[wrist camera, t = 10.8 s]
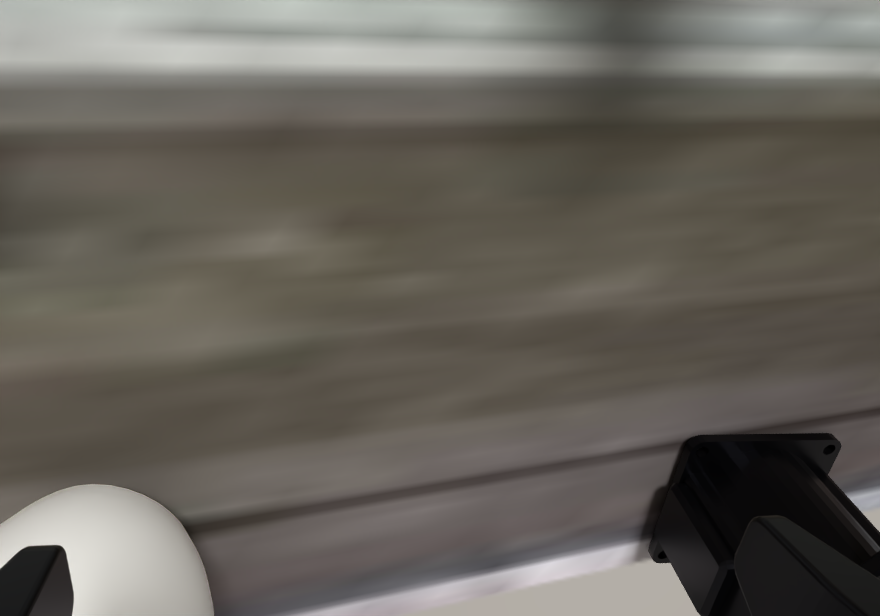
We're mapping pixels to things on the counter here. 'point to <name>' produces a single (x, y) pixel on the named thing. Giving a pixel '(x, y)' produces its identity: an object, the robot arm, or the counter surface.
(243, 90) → the counter surface
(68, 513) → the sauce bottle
